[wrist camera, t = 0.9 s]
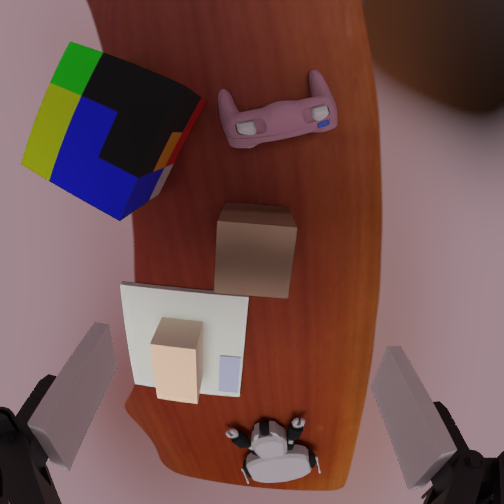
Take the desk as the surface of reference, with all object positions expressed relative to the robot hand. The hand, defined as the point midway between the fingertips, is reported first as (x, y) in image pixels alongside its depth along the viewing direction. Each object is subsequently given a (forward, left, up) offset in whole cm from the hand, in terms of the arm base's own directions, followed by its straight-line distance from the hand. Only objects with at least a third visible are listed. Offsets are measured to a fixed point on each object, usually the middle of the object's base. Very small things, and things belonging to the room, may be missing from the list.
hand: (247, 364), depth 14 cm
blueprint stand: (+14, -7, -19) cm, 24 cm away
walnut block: (0, 0, -19) cm, 19 cm away
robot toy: (+33, +6, -19) cm, 38 cm away
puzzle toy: (-10, -12, -19) cm, 25 cm away
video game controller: (-12, +1, -19) cm, 23 cm away
